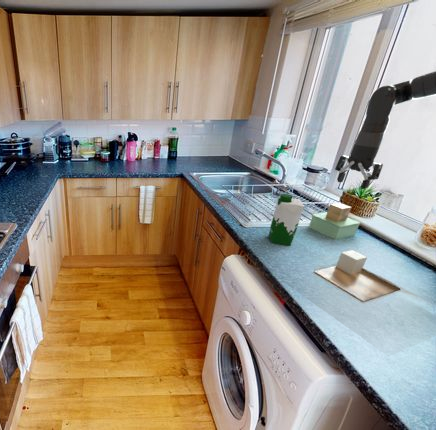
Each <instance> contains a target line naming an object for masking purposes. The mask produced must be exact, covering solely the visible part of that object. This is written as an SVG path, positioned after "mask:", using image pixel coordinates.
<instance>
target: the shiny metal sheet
mask: <svg viewBox="0 0 436 430" xmlns="http://www.w3.org/2000/svg"><path fill="white" fill-rule="evenodd" d="M313 273H315V274H316V275H318V276H320V277H321V278H323V279H325V280H326V281H328V282H329V283H331V284H333V285H334V286H336V287H338V288H340V289H341V290H343V292H346V293H348V294H349V295H351V296H352V297H354V298H356V299H357V300H359V301H361V302H362V303H364V302H367V301H370V300H373V299H376V298H380V297H383V296H385V295H388V294H393V293H395V292H398V291H400V290H401V288H400V287H398V286H396V285H394V284H392V283H390V282H388V281H387V280H385V279H382V278H381V277H379V276H377V275H375V274H373V273H371V272H369V271H367V270H365V269H363V268H362V270H361V272H357V273H354V274H348V273H346V272H345V271H343V270H341V269H339V268H337V267H336V265H333V266H328V267H326V268H321V269H318V270H314V271H313Z"/></svg>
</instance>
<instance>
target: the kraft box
mask: <svg viewBox="0 0 436 430" xmlns="http://www.w3.org/2000/svg"><path fill="white" fill-rule="evenodd" d="M351 209H352V206H349V205H348V204H344V203H341V202H336V203H330V204H329V207H328V210H327V211H326V212H327V215H326V217H327V218H329V219H332V220H334V221H337V222H339V221H344V220H347V217H348V218H349V216H350V215H349V214H350V212H351Z"/></svg>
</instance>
